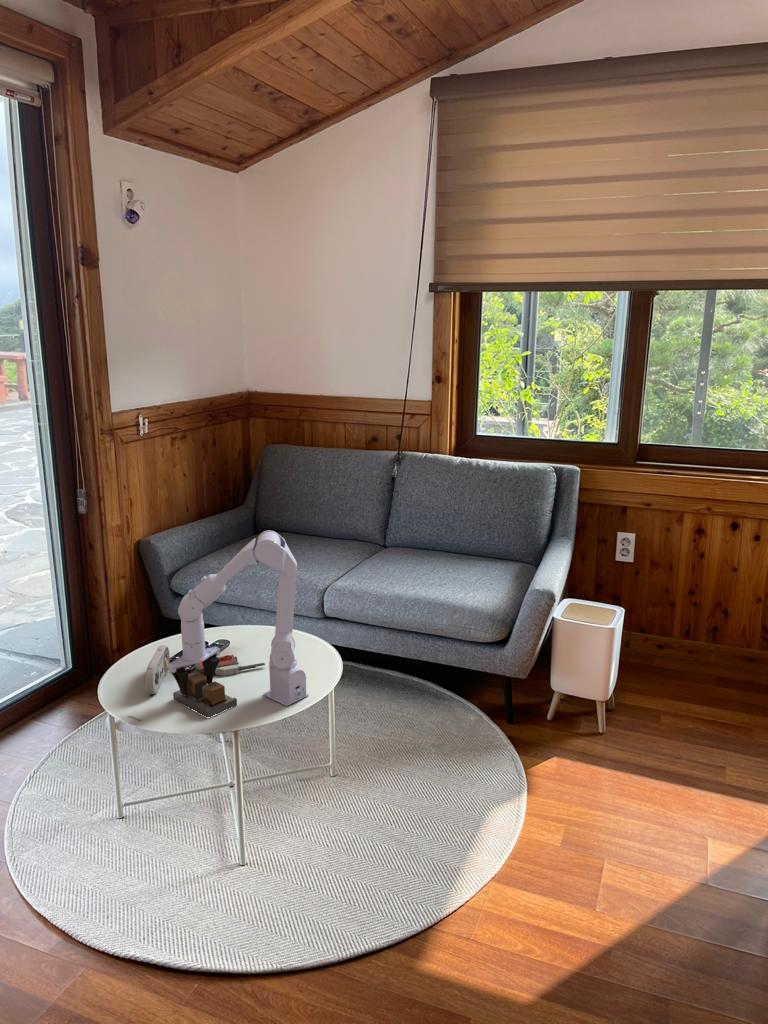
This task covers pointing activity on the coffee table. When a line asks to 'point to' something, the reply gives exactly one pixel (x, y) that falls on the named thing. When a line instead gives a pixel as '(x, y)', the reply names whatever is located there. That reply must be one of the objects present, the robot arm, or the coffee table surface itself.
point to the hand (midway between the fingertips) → (196, 688)
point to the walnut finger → (196, 684)
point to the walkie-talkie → (226, 665)
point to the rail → (207, 700)
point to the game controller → (157, 669)
